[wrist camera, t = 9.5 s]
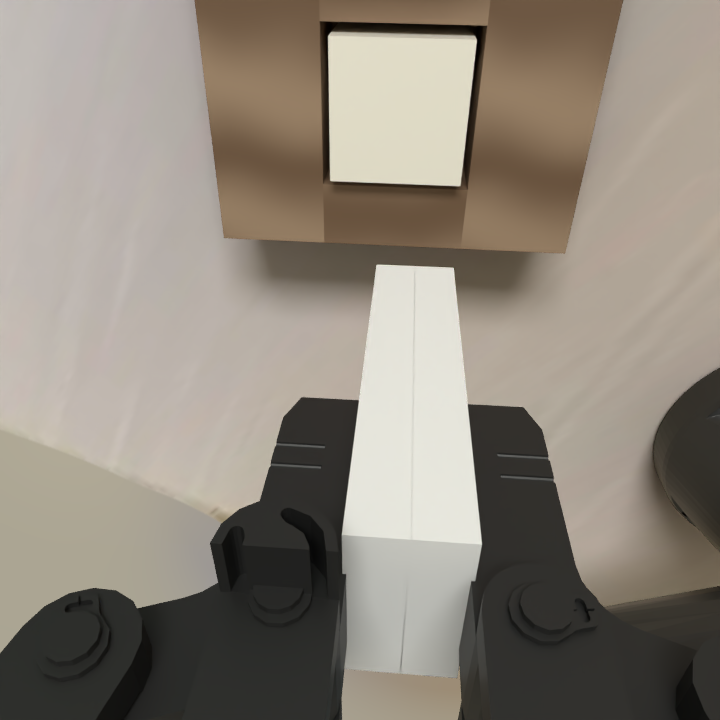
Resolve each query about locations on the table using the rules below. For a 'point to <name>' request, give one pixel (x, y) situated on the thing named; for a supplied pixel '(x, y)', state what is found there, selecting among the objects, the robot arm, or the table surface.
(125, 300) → the table surface
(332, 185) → the wooden button box
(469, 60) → the button
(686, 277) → the table surface
